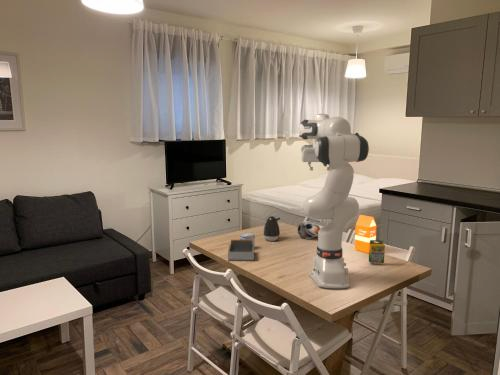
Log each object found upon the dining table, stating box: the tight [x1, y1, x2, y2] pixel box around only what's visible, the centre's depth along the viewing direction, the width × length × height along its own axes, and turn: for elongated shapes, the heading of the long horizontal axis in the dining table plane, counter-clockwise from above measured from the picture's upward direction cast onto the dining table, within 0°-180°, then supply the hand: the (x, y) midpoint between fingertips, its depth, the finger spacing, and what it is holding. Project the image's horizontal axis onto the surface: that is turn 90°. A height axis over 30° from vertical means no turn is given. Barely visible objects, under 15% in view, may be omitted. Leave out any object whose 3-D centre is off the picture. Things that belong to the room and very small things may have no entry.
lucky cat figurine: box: [297, 221, 321, 241], centre depth 240 cm, size 15×12×14 cm
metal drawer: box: [227, 239, 255, 262], centre depth 206 cm, size 14×14×8 cm
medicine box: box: [239, 232, 256, 249], centre depth 219 cm, size 8×4×9 cm, turn 134°
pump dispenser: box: [263, 215, 281, 242], centre depth 237 cm, size 10×10×15 cm
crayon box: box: [368, 239, 386, 264], centre depth 198 cm, size 7×3×12 cm, turn 89°
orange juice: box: [354, 214, 377, 254], centre depth 218 cm, size 8×9×20 cm
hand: (320, 170), depth 207 cm, fingers open, 8 cm apart
